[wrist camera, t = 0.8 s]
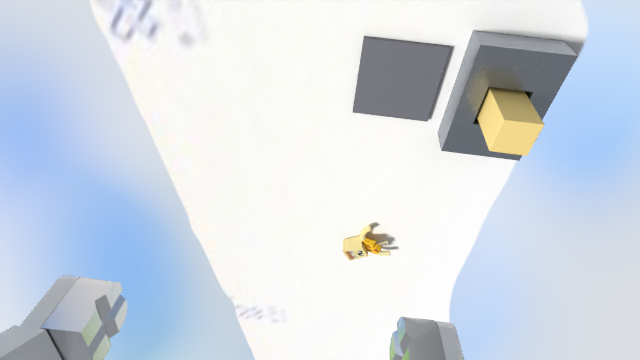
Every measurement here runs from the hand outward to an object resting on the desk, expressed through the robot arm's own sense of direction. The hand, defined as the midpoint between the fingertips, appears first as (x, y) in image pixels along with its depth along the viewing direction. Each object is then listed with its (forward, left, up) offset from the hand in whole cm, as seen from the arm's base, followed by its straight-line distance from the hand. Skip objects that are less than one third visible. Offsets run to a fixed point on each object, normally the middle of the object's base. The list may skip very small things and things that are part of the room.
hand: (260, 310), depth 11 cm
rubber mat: (+11, +8, -39) cm, 41 cm away
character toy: (+43, +10, -39) cm, 59 cm away
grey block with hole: (+11, +20, -39) cm, 45 cm away
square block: (+11, +20, -39) cm, 45 cm away
